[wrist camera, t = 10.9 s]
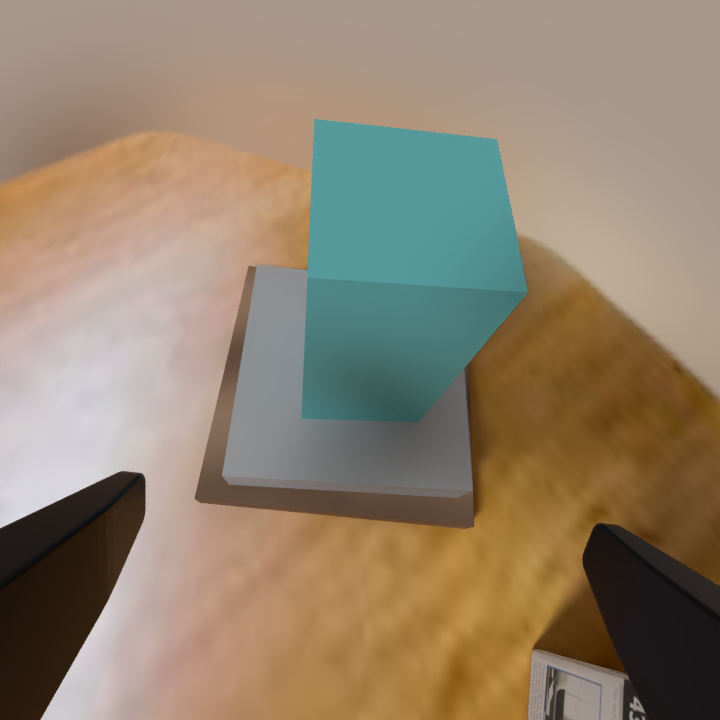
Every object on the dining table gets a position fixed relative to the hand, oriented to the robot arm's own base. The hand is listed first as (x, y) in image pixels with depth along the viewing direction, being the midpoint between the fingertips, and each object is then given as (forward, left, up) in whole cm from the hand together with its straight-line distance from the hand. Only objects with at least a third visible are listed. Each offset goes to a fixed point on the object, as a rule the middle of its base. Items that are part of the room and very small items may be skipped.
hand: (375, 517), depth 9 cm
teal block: (+3, -7, -9) cm, 11 cm away
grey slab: (+3, -7, -11) cm, 13 cm away
